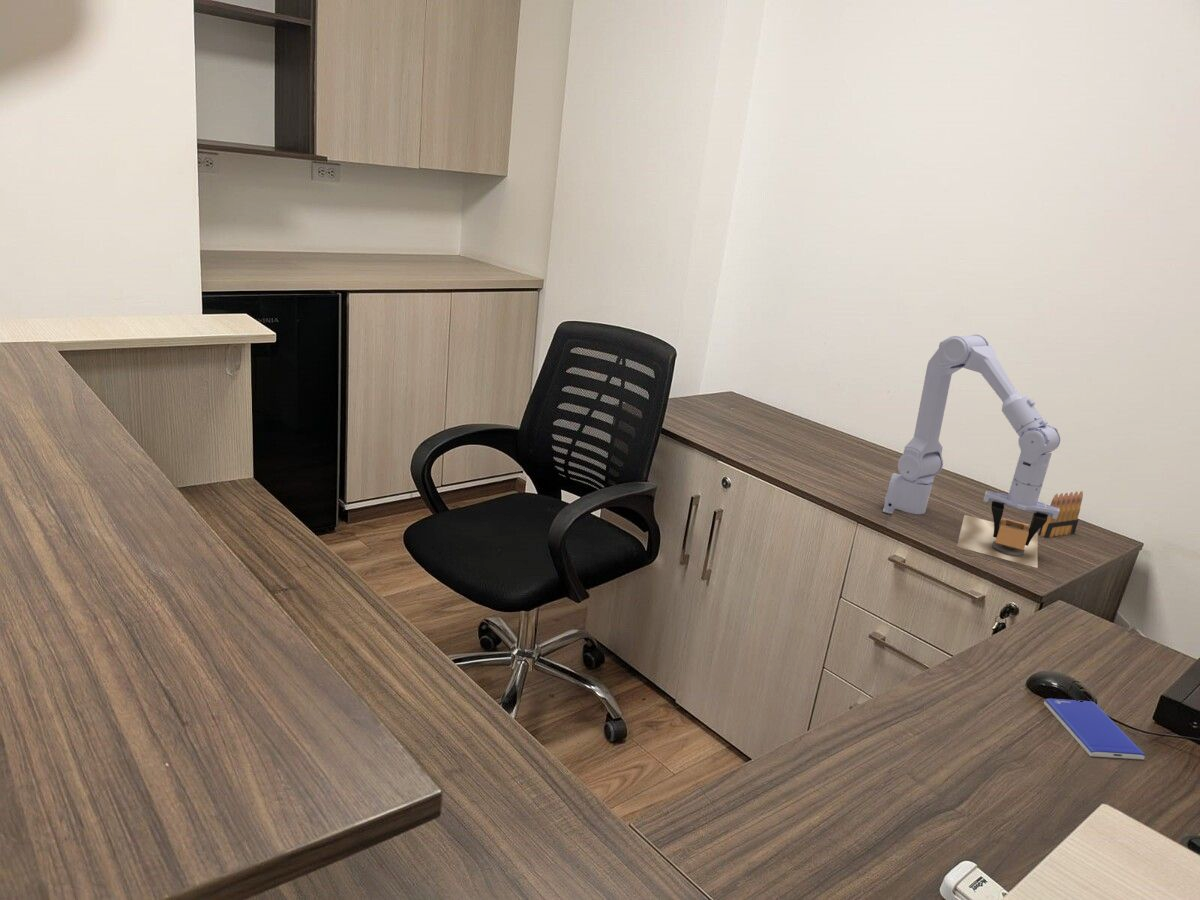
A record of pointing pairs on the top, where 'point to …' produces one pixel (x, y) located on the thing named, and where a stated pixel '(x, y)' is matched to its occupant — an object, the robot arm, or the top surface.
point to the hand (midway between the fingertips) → (1010, 539)
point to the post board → (981, 540)
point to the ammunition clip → (1063, 515)
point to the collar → (1012, 533)
